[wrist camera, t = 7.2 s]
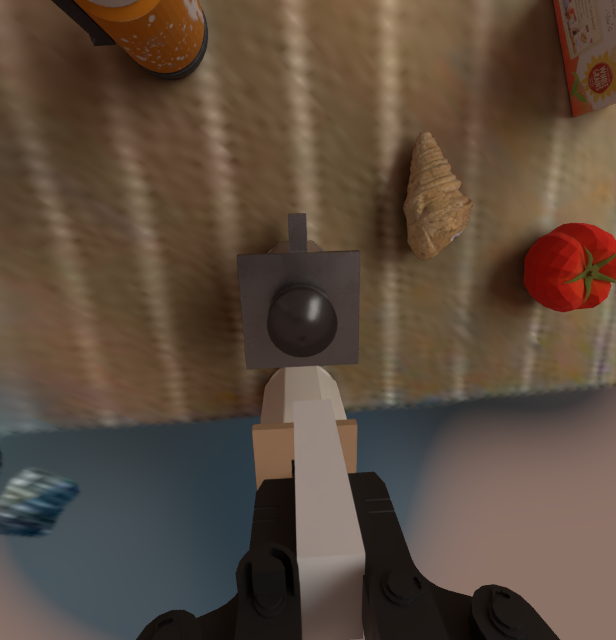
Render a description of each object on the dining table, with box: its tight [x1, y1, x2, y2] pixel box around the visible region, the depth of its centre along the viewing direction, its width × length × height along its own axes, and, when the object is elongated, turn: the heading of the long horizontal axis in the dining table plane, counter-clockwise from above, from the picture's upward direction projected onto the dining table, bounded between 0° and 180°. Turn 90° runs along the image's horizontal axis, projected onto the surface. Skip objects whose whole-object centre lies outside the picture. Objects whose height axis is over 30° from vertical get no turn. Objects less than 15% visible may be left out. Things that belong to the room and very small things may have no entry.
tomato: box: [523, 223, 616, 312], centre depth 43 cm, size 11×11×9 cm
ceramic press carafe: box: [252, 366, 357, 490], centre depth 44 cm, size 10×14×16 cm
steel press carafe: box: [237, 213, 360, 369], centre depth 38 cm, size 10×14×16 cm
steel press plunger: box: [267, 284, 338, 357], centre depth 35 cm, size 7×7×16 cm
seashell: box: [403, 132, 473, 261], centre depth 40 cm, size 14×8×8 cm, turn 18°
